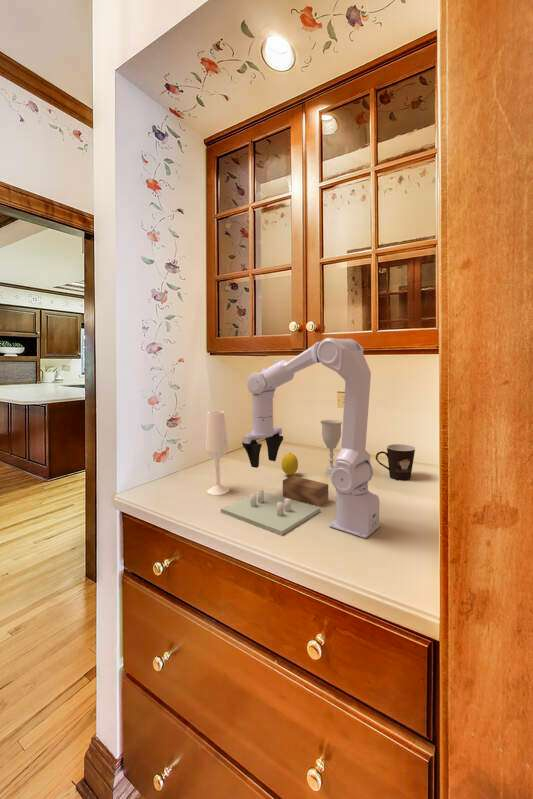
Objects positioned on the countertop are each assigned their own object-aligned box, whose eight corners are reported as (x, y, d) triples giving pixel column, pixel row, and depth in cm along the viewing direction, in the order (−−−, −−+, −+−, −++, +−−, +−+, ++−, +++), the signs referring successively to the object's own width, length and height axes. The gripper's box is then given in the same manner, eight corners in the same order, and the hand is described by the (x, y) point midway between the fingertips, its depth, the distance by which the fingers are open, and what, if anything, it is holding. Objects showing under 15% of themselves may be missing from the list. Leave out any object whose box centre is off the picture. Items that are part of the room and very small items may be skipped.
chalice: (341, 470, 127) (341, 419, 125) (343, 477, 121) (343, 423, 118) (319, 470, 128) (319, 419, 126) (320, 477, 121) (320, 423, 119)
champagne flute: (220, 496, 106) (217, 414, 103) (202, 492, 110) (199, 413, 107) (234, 489, 112) (231, 411, 109) (216, 485, 115) (213, 409, 113)
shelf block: (328, 501, 102) (328, 484, 101) (318, 507, 98) (318, 489, 97) (293, 491, 110) (292, 475, 109) (282, 497, 106) (282, 480, 105)
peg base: (319, 511, 95) (319, 496, 94) (281, 535, 83) (281, 518, 82) (261, 493, 108) (261, 480, 107) (221, 512, 96) (220, 497, 95)
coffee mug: (415, 475, 122) (415, 445, 121) (413, 483, 114) (414, 452, 113) (378, 470, 127) (379, 442, 125) (374, 478, 119) (375, 448, 118)
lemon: (288, 472, 127) (287, 449, 126) (301, 475, 124) (301, 452, 123) (278, 476, 123) (278, 453, 122) (291, 479, 119) (291, 455, 118)
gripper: (268, 411, 110) (269, 455, 112) (234, 418, 99) (235, 467, 101) (287, 413, 106) (287, 459, 107) (253, 421, 95) (254, 472, 96)
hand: (263, 463), depth 104 cm, fingers open, 7 cm apart
